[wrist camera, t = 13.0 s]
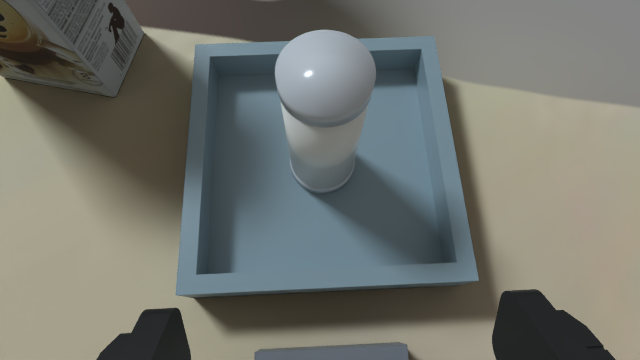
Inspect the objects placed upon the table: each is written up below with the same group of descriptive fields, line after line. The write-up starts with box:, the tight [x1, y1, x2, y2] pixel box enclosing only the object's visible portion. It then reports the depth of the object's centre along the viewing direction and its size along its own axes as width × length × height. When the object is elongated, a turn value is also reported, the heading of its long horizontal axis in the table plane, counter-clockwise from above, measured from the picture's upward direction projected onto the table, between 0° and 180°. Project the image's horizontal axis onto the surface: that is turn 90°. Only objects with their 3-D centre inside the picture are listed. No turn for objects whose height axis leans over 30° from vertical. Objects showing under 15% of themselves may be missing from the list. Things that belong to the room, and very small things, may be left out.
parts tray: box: [176, 36, 479, 298], centre depth 24 cm, size 16×16×3 cm
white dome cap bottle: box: [275, 30, 376, 194], centre depth 20 cm, size 4×4×10 cm
